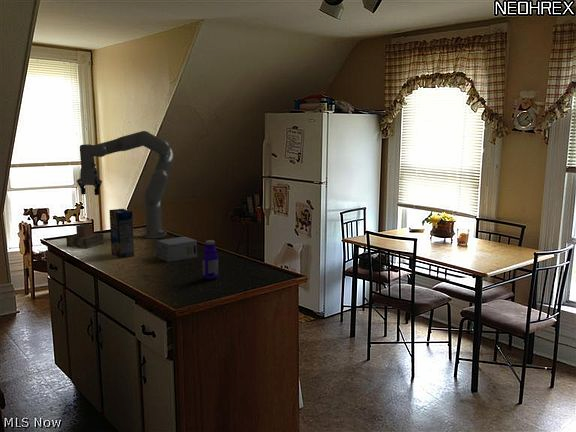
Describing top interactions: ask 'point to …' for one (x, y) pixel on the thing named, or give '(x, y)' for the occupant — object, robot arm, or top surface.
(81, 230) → the terracotta cube
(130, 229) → the juice carton
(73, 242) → the grey flat block
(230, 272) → the top surface
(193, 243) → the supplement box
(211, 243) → the bottle
